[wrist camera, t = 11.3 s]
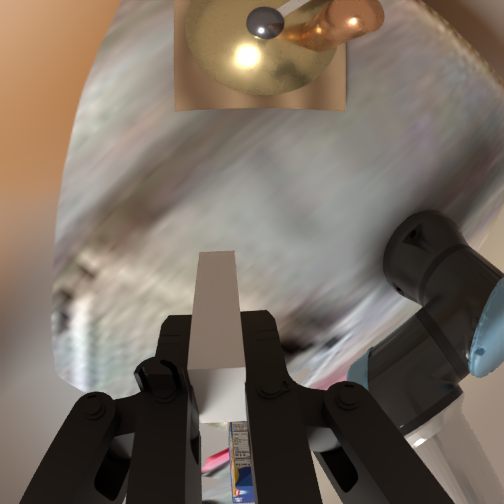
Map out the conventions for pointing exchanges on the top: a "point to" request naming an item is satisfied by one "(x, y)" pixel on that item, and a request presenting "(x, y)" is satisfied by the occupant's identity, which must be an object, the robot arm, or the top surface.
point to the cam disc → (274, 39)
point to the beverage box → (240, 463)
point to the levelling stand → (220, 97)
